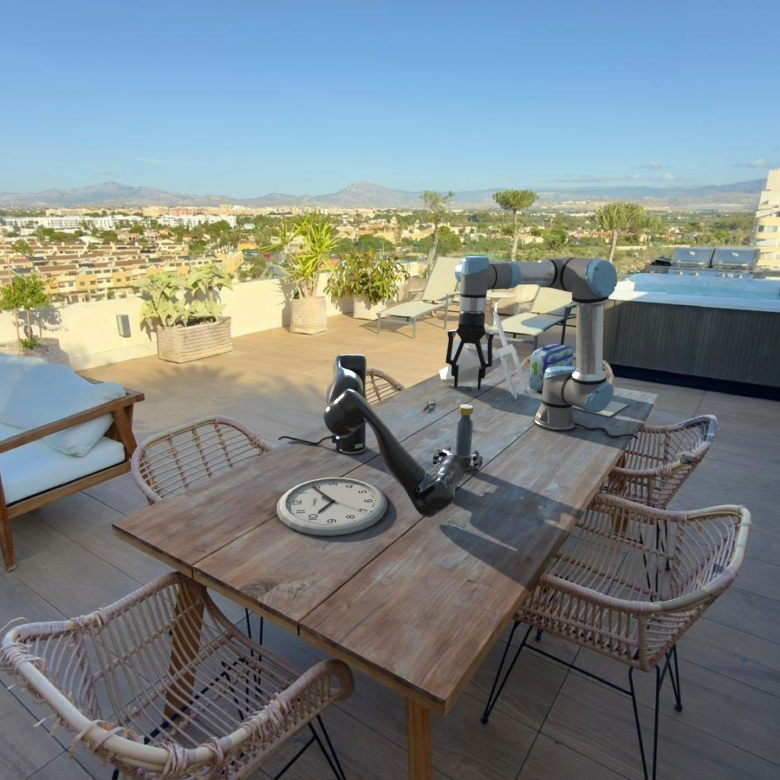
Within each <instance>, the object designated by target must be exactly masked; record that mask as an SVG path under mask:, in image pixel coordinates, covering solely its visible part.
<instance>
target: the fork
mask: <svg viewBox="0 0 780 780" xmlns="http://www.w3.org/2000/svg"><path fill="white" fill-rule="evenodd" d="M436 400H437V397H436V396H432V395H431V396H430V399H429V401H428V404H426V405H425V407H424V409H423V411H422V412H424V411H426V410H428V408H429V407H430V406H431V405H433V404H435V403H436Z"/></svg>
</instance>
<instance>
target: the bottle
mask: <svg viewBox="0 0 780 780" xmlns="http://www.w3.org/2000/svg"><path fill="white" fill-rule="evenodd" d="M473 427H474V422H473V419H472V418H471V415H461V414H460V416H459V418H458V419H457V423H456V436H455V437H456V439H455V452H454V455H458V456H464V455H468V454H469V455H472V444H473V443H472V442H473ZM470 470H471V468H468V469H466V471H465V472H468V471H470Z"/></svg>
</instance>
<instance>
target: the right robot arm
mask: <svg viewBox="0 0 780 780" xmlns="http://www.w3.org/2000/svg"><path fill="white" fill-rule="evenodd" d="M454 278H455V279H456V281H457V282H458V283H460V289H459V290H460V291H459V292H460V293H459V309H458V310H460V311H459V312H458V325H457V328H456V329H449V330H448V331H447V333H446V334H447V339H448V341H447V349H446V356H445V363H446V364H448V365H449V364H450V365H451V366H452V368H451V375H452V376H455V378H454V384H453V389H457V388H458V385H459V384H458V371H459V365H456V363H457V361H458V358H459V356H460V353H461V351H462V348H463V346H464V344H465V343H466V344H472V345H474V346H476V349H477V353H478V356H479V360H480V364H481V367H479V372H478V382H477V387H476V390H478V391H480V390H481V388H482V386H481V385H482V381H481V379H483V380H484V379H485V377H486V376H485V373H486V368H487V367H491V366H492V350H493V340H494V337H495V333H494V332H490V331H486V328H485V324H486V323H485V322H486V313H485V311H486V309H487V308H486V307H487V294H488V291H490V290H509V289H515V288H517V287H518V286H519V285H521V286H522V285H523V286H524V285H525V286H526V285H527V286H528V285H529V286H532V285H533V286H537V287H539V288H548V289H554V290H557V291H562V292H565V293H566V292H567V293H571V302H572V303H573V304H574V305H576V339H575V340H576V341H575V342H576V347H575V348H576V351H575V352H576V359H575V360H576V361H575V362H576V363H575V364H576V365H575V366H576V367H574V366H572V367H569V366H555V367H549V368H547V369H546V370H545V375H544V378H543V379H544V380H543V390H542V391H541V402H540V405H539V407H538V410H537V411H536V413H535V417H534V424H535V425H536V426H537V427H539V428H542V429H544V430H549V431H556V432H567V431H572V430H574V429H575V428H576V426H577V427H580V428H583V429H584V430H588V431H597V430H601V431H604V432H605V435H606V436H607V437H609V438H611V439H612V438H613V439H618V438H625V437H632V438H634V439H635V440H639V437H638V436H637V435H635V434H634V433H623V434H617V435H615V434H614V435H613V434H611V433H609V431H608V429H606V428H605V427H602V426H596V427H589V426H586V425H584V424H581V423H577V422H576V418H575V417H576V416H575V413H574V407H579V408H582V409H584V410H586V411H585V412H588V411H590V412H589V413H592V412H594V413H593V414H596V413H597V412H600V411H602V410H604V409H605V408H606V407H607V406H608V404H609V403H610V402H611V401H613V400H612V399H613V397H614V393H615V392H614V391H615V389H614V386H613V385H612V384H611V382H609V381H607V377H608V376H607V372H606V371H605V370H604V369H603V355H604V354H603V353H604V352H603V350H604V349H603V347H604V306H605V303H607V302H608V301H609V299H610V296H611V295H612V294H613V293H615V291H616V287H617V286H618V272H617V269H616V267H615V266H614V265H613V264H612V262H610V261H609V260H606V259H600V258H594V257H593V258H591V257H575V256H574V257H573V256H569V257H558V258H542V259H540V260H539V261H520V260H519V261H518V260H515V261H514V260H512V261H511V260H490V258H489V257H488V256H477V255H470V256H469V255H468V256H465V257H463V258H462V260H460V261H459V262H458V263H457V264H456V266H455V268H454ZM456 334H457V335H458V337H459V339H461V342H460V344H459V347H458V349H457V352H456V354H455V356H454V359H453V360H452V359H451V355H452V348H453V344H454V339H455V337H456ZM484 336H485V339H486V340H487V343H486V344H487V348H488V362H485V358H484V354H483V351H482V347H481V345H482V342H481V340H482V339H483V337H484ZM584 410H583V411H584Z"/></svg>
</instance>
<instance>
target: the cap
mask: <svg viewBox="0 0 780 780" xmlns="http://www.w3.org/2000/svg"><path fill="white" fill-rule="evenodd" d="M473 411H474V407H473V405H471V404H467V403H463V404H459V407H458V413H459V415H460V416H461V415H470V416H472V415H473V413H474V412H473Z"/></svg>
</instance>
